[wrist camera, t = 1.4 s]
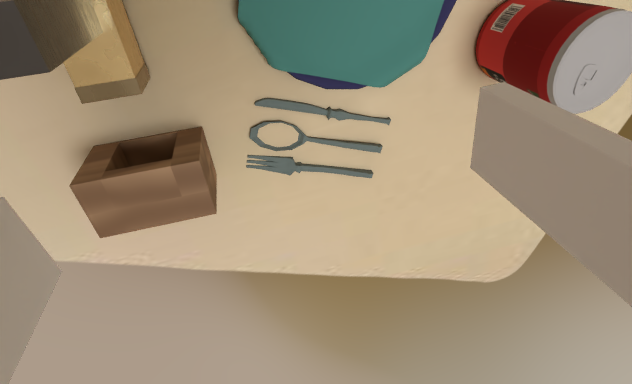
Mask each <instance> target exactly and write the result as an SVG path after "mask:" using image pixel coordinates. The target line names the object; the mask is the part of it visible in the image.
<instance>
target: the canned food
mask: <svg viewBox="0 0 632 384" xmlns="http://www.w3.org/2000/svg"><path fill="white" fill-rule="evenodd" d="M476 58H477V62H478V64H479V66H480V67H481V69H482V70H483V72H484V73H485V74H486V75H487V76H489V77H490V78H492V79H494V80H497V81H499V82H501V83H502V82H505V83H508V84H510V85H512V86H514V87H516V88H518V89H521V90H523V91H525V92H527V93H529V94H531V95H534V96H536V97H538V98H540V99H542V100H544V101H547V102H549V103H551V104H553V105H555V106H557V107H560V108H562V109H564V110H566V111H568V112H570V113H573V114H577V113H583V112H586V111H589V110H591V109H593V108H595V107H597V106H599V105H601V104H602V103H603V102H605V101H606V100H608V99H609V98H610V97H611V96H612V95H613V94H614V93H615V92H617V90H618V89H619V88H620V87H621V86H622V85H623V84H624V83H625V81H626V80H627V78H628V77H629V76H630V74H631V73H632V12H630V11H626V10H624V9H618V8H613V7H607V6H600V5H593V4H586V3H579V2H572V1H565V0H508V1H506V2H505V3H503V4H501V5H500V6H499V7H498V8H496V9H495V10H494V11H493V12H492V13H491V15H490V16H489V17H488V18H487V20H486V21H485V23H484V25H483V27H482V29H481V30H480V33H479V36H478V39H477V44H476Z"/></svg>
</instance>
